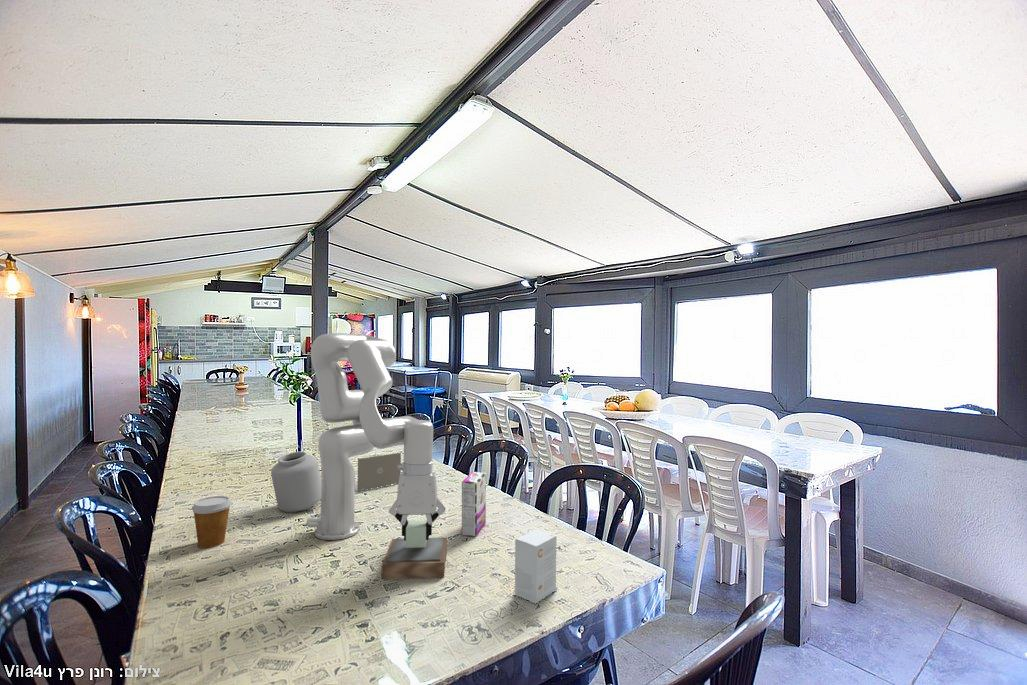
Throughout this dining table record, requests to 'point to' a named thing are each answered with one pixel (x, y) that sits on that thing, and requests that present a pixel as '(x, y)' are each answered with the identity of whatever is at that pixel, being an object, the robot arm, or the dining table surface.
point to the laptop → (378, 471)
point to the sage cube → (416, 534)
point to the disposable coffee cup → (211, 520)
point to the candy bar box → (473, 503)
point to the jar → (296, 481)
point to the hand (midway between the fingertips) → (416, 537)
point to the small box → (535, 565)
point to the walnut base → (415, 560)
